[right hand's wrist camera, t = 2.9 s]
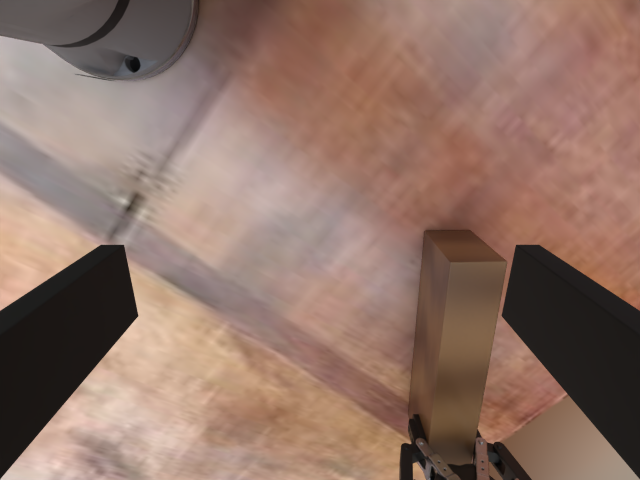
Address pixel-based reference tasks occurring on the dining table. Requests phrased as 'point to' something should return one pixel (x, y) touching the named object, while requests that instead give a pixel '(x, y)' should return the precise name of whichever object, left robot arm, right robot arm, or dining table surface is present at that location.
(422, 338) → the bar
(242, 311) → the dining table surface
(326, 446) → the dining table surface
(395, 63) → the dining table surface
